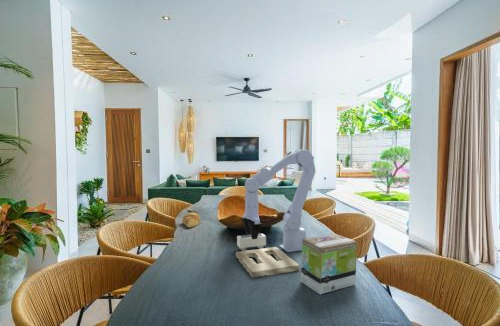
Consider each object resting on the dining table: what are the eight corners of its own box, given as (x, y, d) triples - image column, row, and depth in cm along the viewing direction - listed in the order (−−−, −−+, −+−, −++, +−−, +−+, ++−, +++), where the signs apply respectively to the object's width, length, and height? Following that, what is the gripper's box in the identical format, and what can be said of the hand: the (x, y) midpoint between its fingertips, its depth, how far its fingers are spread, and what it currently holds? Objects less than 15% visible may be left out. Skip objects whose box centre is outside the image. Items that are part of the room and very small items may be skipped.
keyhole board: (276, 251, 121) (276, 246, 121) (299, 270, 102) (299, 264, 102) (235, 256, 115) (235, 251, 115) (252, 277, 96) (252, 272, 96)
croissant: (194, 235, 155) (201, 222, 155) (178, 227, 154) (184, 214, 154) (197, 224, 176) (203, 212, 176) (182, 216, 175) (188, 205, 175)
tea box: (321, 296, 84) (321, 247, 84) (300, 282, 93) (300, 238, 93) (356, 285, 91) (357, 240, 91) (334, 273, 100) (335, 232, 99)
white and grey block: (262, 246, 128) (262, 232, 127) (265, 249, 124) (266, 235, 124) (237, 249, 124) (237, 235, 123) (239, 252, 120) (239, 238, 119)
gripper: (238, 203, 128) (237, 232, 129) (248, 209, 115) (248, 242, 115) (252, 202, 131) (252, 231, 131) (264, 208, 117) (264, 240, 118)
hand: (251, 236), depth 123 cm, fingers open, 7 cm apart
